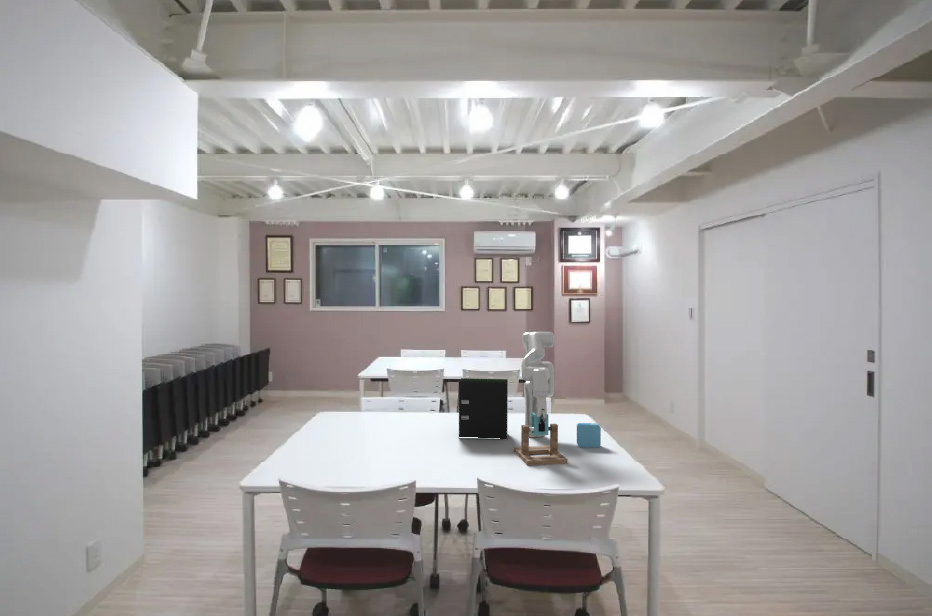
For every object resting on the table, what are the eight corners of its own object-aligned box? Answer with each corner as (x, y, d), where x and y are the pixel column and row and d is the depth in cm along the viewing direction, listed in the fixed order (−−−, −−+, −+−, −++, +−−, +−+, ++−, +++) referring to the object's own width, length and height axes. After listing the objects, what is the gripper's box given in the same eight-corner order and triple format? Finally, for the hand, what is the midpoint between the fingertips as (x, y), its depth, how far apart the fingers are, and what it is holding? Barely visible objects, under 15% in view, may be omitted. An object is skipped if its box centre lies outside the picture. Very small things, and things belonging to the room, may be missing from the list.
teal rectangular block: (531, 432, 269) (531, 412, 269) (544, 432, 270) (544, 412, 270) (534, 435, 263) (534, 415, 263) (548, 435, 264) (548, 414, 264)
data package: (599, 445, 289) (599, 423, 288) (600, 447, 284) (600, 425, 284) (576, 444, 289) (576, 422, 289) (577, 447, 285) (578, 424, 285)
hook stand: (513, 451, 277) (513, 420, 277) (550, 449, 281) (550, 418, 280) (527, 465, 254) (527, 431, 253) (567, 463, 257) (567, 430, 257)
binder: (507, 433, 313) (507, 379, 313) (507, 440, 298) (507, 383, 298) (461, 432, 316) (461, 378, 315) (458, 439, 301) (458, 382, 300)
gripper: (527, 391, 274) (527, 426, 275) (538, 396, 257) (537, 434, 258) (541, 390, 276) (541, 425, 276) (552, 396, 259) (552, 433, 259)
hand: (539, 429), depth 267 cm, fingers closed on teal rectangular block, 6 cm apart
